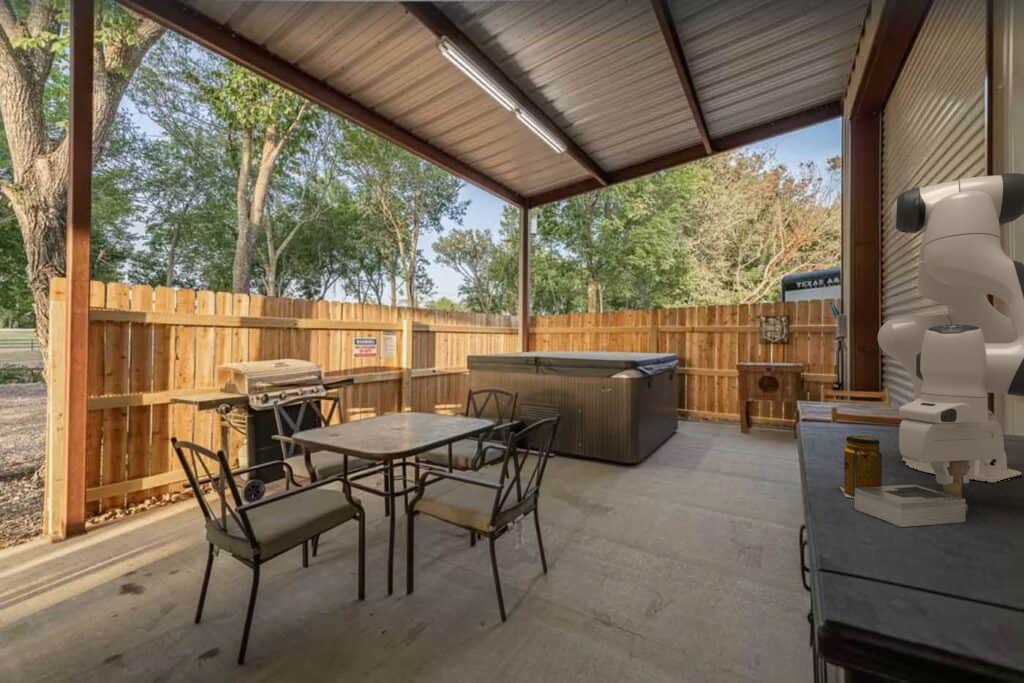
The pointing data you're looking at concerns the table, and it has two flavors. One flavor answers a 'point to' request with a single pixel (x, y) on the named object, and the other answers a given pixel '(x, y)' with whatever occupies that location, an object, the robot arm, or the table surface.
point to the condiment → (861, 464)
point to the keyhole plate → (910, 514)
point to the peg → (955, 481)
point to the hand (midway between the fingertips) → (952, 483)
